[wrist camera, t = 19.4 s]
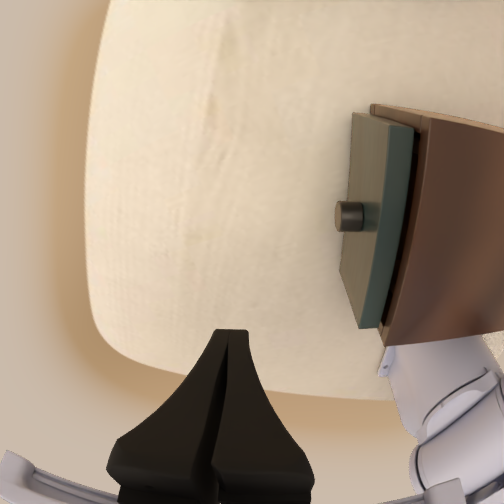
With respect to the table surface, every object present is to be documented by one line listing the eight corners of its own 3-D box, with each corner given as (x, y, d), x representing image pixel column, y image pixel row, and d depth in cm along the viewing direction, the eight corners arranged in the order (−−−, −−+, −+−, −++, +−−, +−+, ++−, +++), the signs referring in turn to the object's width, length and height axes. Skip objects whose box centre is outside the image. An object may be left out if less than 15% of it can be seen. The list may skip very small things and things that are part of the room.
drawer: (321, 271, 21) (336, 330, 16) (331, 110, 16) (360, 121, 11) (490, 267, 21) (528, 310, 15) (519, 141, 16) (573, 165, 10)
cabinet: (354, 271, 22) (383, 347, 16) (370, 103, 17) (429, 117, 10) (502, 267, 22) (549, 320, 15) (532, 137, 16) (600, 167, 9)
